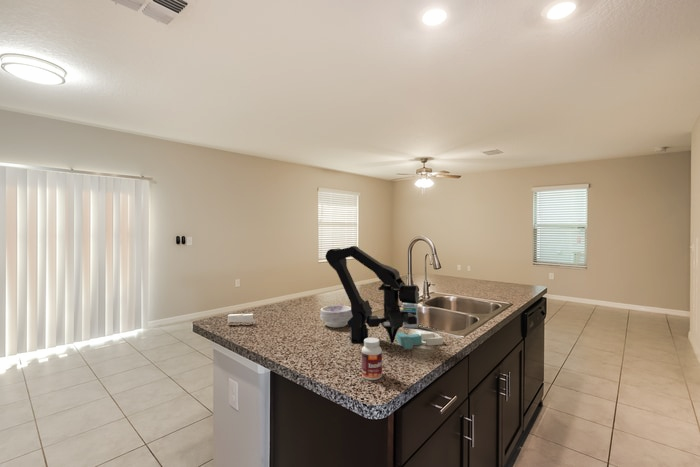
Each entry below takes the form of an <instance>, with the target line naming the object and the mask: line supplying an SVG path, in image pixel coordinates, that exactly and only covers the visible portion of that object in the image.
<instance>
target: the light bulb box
mask: <svg viewBox="0 0 700 467" xmlns="http://www.w3.org/2000/svg"><path fill="white" fill-rule="evenodd" d="M418 304H419V303H418ZM418 304H411V303H402V312H408V314H410V313H411V314H413V315H414V316H416V317H417V324H409V323H408V322H403V327H402V328H407V329H408V328H411V329H413V328H414V329H418V328H419V310H418V308H419V307H418Z"/></svg>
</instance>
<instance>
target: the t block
mask: <svg viewBox="0 0 700 467" xmlns="http://www.w3.org/2000/svg"><path fill="white" fill-rule="evenodd" d="M395 338H396V341H397V342H398V344H399V345H400V346H401V347H402V348H403V349H404V350H411V349H413V348H414V347H413V346H417V345H422V344H423V342H422V341H423V340H421V335H420V333H414V334H406V333H405V332H404V331H403V332H397V333H396V336H395Z"/></svg>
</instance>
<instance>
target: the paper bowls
mask: <svg viewBox="0 0 700 467" xmlns="http://www.w3.org/2000/svg"><path fill="white" fill-rule="evenodd" d="M352 317H353V316H352V312H351V306H348V305H326V306H324V307H321V308H320V320H321V321H322V322H324V323H325V325H326V326H327V327H329V328H344V327H346V326H347V325H348V323H347V322H348V321H349V320H350V319H351V318H352Z"/></svg>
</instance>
